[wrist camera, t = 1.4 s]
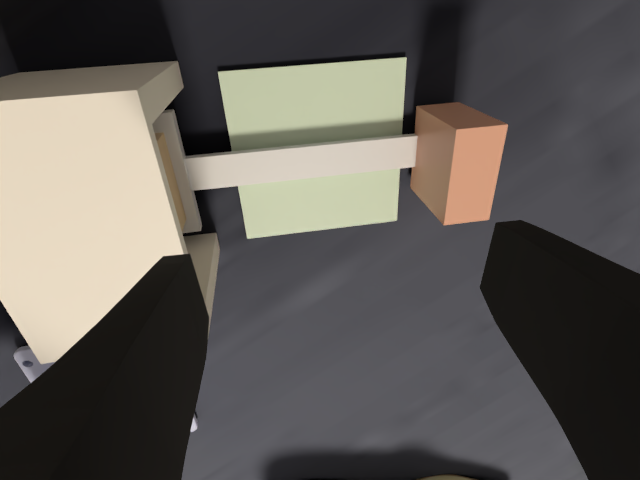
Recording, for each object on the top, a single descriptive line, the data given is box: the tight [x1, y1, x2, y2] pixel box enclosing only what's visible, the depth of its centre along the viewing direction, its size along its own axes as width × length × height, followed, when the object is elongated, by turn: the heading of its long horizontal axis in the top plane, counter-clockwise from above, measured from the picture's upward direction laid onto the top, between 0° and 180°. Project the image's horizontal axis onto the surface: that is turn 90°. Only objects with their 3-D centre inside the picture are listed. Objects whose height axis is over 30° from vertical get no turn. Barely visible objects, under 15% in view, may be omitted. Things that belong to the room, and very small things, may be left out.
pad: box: [218, 57, 407, 239], centre depth 18 cm, size 8×8×1 cm
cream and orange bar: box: [152, 102, 508, 233], centre depth 16 cm, size 18×6×4 cm, turn 93°
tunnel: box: [0, 61, 220, 364], centre depth 15 cm, size 6×9×6 cm, turn 3°
